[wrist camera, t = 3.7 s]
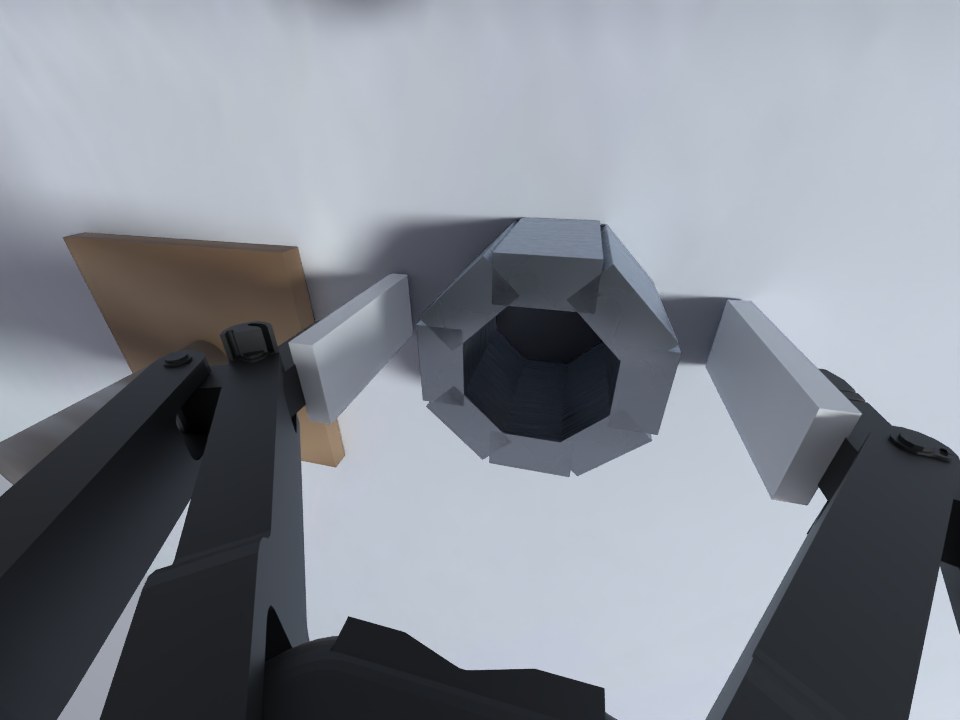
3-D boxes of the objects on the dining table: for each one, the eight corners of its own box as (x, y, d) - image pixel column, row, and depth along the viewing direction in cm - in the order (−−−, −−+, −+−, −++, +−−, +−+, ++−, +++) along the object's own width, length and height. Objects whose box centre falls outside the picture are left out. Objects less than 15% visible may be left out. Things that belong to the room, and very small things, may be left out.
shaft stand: (85, 232, 19) (-240, 294, 12) (297, 246, 17) (58, 337, 9) (178, 423, 25) (1, 547, 18) (345, 455, 23) (223, 613, 15)
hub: (461, 215, 15) (409, 246, 10) (669, 223, 13) (706, 265, 9) (465, 378, 18) (427, 452, 14) (628, 400, 17) (641, 489, 12)
